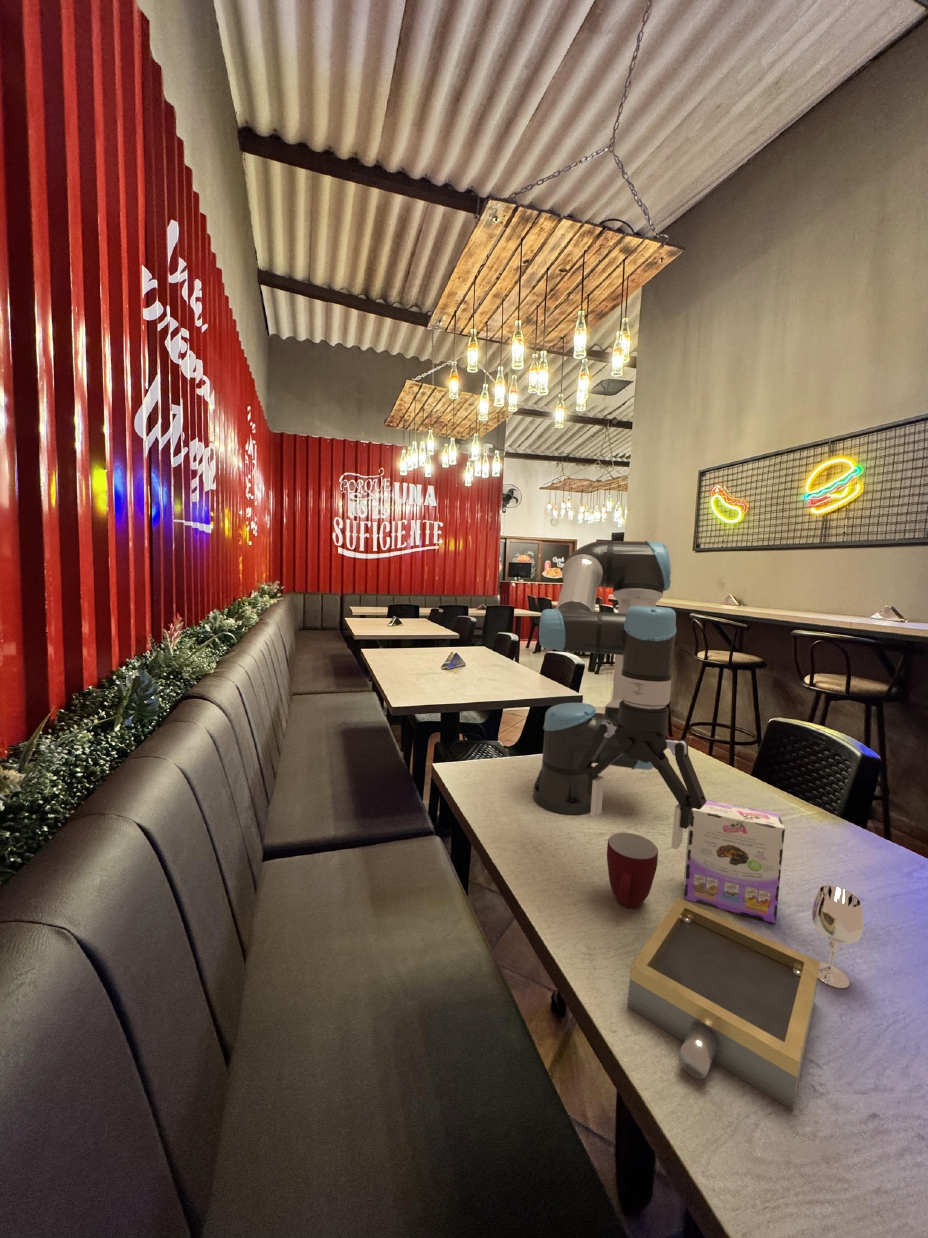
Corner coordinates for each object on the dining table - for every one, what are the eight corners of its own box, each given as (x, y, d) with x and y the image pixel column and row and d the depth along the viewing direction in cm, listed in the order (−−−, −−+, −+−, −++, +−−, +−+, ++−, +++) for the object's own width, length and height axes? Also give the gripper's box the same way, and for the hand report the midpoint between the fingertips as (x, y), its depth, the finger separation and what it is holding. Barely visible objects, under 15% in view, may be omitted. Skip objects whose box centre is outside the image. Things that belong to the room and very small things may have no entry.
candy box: (770, 903, 85) (780, 812, 83) (776, 925, 80) (787, 829, 78) (682, 880, 91) (690, 794, 89) (682, 899, 86) (690, 808, 84)
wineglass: (795, 959, 73) (804, 883, 72) (831, 958, 73) (841, 882, 72) (827, 993, 67) (837, 911, 66) (866, 991, 68) (877, 910, 66)
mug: (653, 933, 77) (659, 873, 76) (600, 919, 80) (604, 860, 79) (653, 892, 87) (657, 838, 86) (605, 881, 90) (609, 828, 89)
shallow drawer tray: (614, 1028, 61) (617, 985, 60) (674, 932, 78) (678, 898, 77) (786, 1144, 49) (792, 1092, 49) (814, 1002, 66) (819, 962, 65)
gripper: (563, 691, 85) (556, 810, 87) (722, 725, 69) (709, 871, 71) (584, 685, 91) (576, 797, 93) (736, 715, 74) (723, 850, 76)
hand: (634, 829), depth 82 cm, fingers open, 13 cm apart
